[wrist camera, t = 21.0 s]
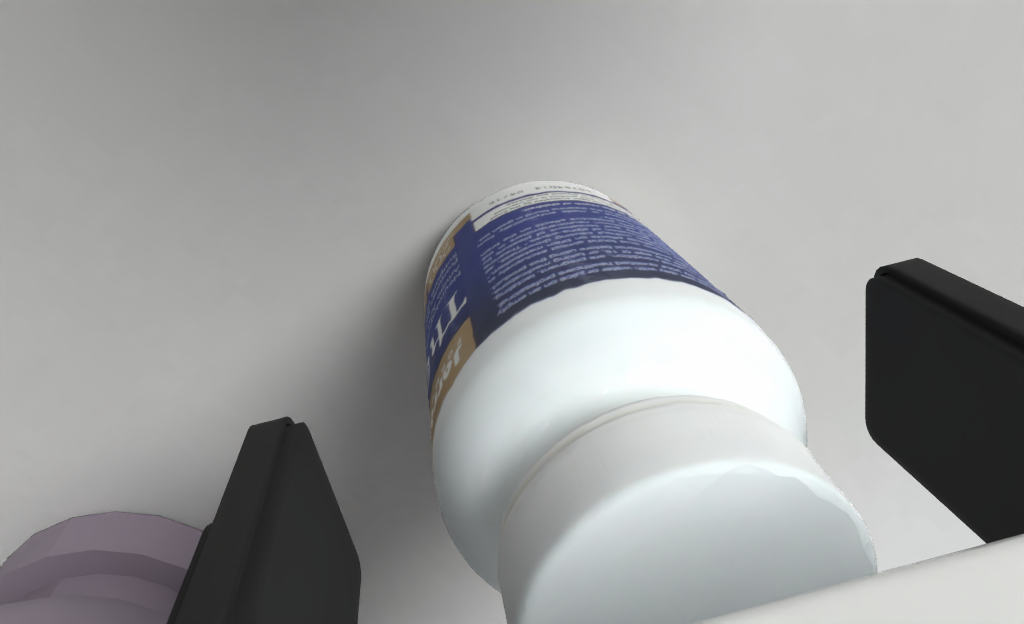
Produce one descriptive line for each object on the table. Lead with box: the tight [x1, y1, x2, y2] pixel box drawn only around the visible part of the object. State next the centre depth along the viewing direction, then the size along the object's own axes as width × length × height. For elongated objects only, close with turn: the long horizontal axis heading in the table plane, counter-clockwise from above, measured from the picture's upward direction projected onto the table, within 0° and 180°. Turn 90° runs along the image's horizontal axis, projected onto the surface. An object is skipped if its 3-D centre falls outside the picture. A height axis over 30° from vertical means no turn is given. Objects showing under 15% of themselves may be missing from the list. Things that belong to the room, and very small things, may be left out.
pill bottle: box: [424, 181, 877, 624], centre depth 12 cm, size 5×5×10 cm
